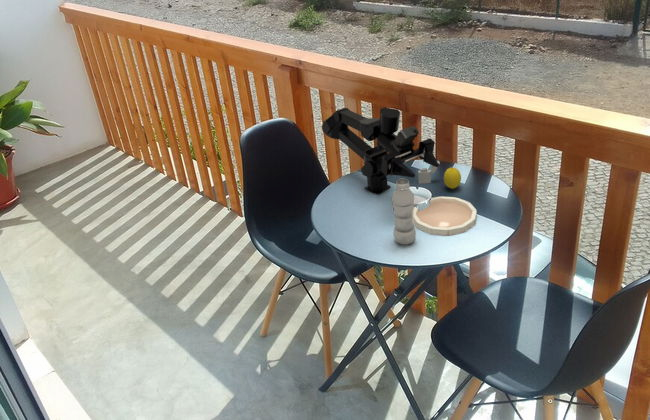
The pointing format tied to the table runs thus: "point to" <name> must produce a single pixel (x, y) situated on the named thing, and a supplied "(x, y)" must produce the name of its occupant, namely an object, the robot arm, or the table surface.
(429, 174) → the lighter
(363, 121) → the robot arm
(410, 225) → the plastic bottle
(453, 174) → the lemon
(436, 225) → the round tray
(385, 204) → the table surface
